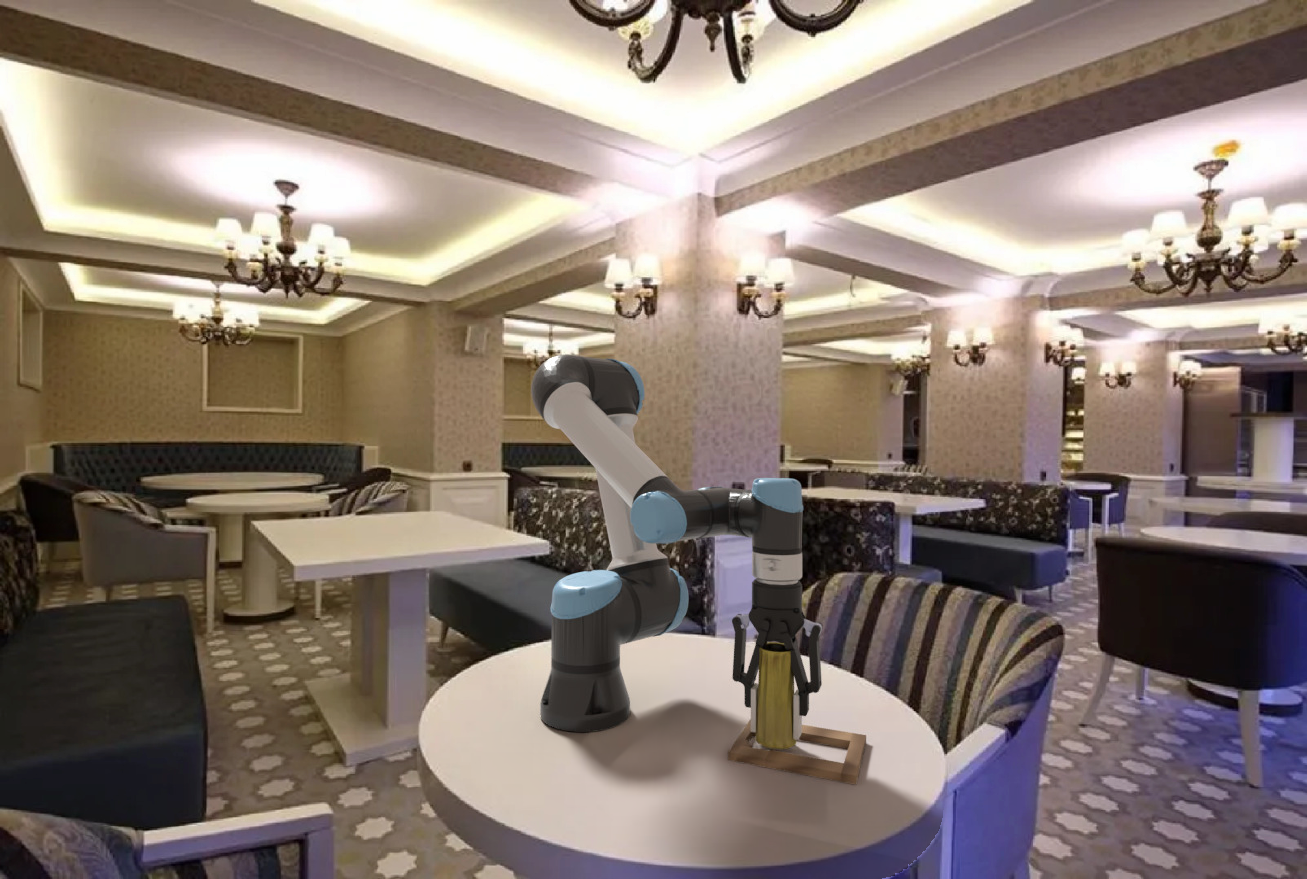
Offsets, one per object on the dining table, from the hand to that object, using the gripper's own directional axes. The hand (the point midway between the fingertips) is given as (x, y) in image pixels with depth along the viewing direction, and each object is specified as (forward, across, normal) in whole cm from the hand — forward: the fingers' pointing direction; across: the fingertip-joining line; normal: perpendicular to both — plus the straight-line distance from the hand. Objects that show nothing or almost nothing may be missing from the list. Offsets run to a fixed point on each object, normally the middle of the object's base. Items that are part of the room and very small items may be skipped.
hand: (776, 731), depth 103 cm
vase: (+2, 0, 0) cm, 2 cm away
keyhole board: (+2, +4, 0) cm, 4 cm away
